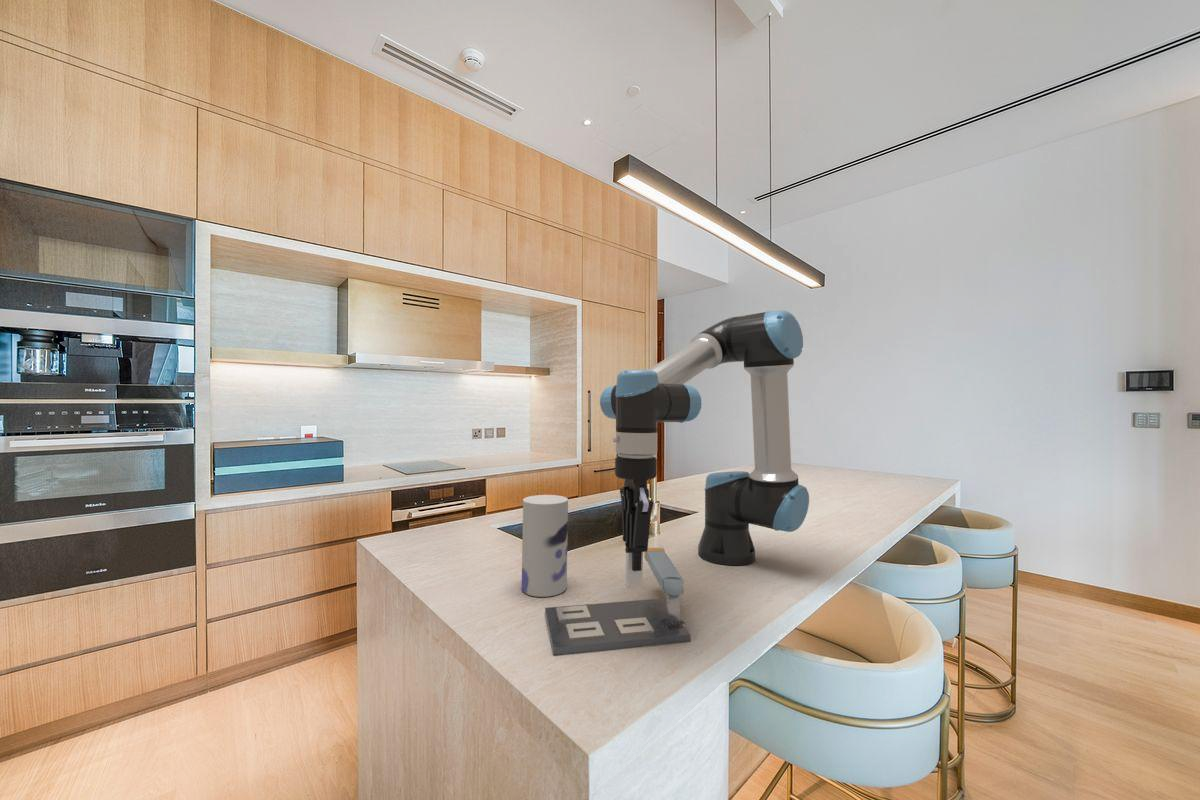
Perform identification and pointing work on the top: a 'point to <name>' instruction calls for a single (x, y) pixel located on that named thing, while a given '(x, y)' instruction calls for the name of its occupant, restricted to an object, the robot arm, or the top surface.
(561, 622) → the slotted grey board
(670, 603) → the post
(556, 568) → the container
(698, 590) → the top surface
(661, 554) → the grey long bar
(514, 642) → the top surface
